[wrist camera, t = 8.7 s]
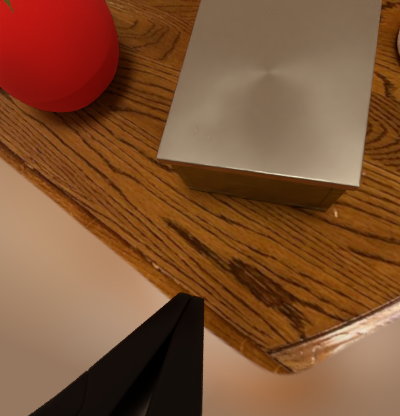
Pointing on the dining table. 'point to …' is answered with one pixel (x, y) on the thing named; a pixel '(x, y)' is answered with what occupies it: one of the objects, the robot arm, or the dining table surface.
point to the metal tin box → (260, 188)
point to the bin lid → (276, 90)
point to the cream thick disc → (398, 42)
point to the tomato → (57, 52)
